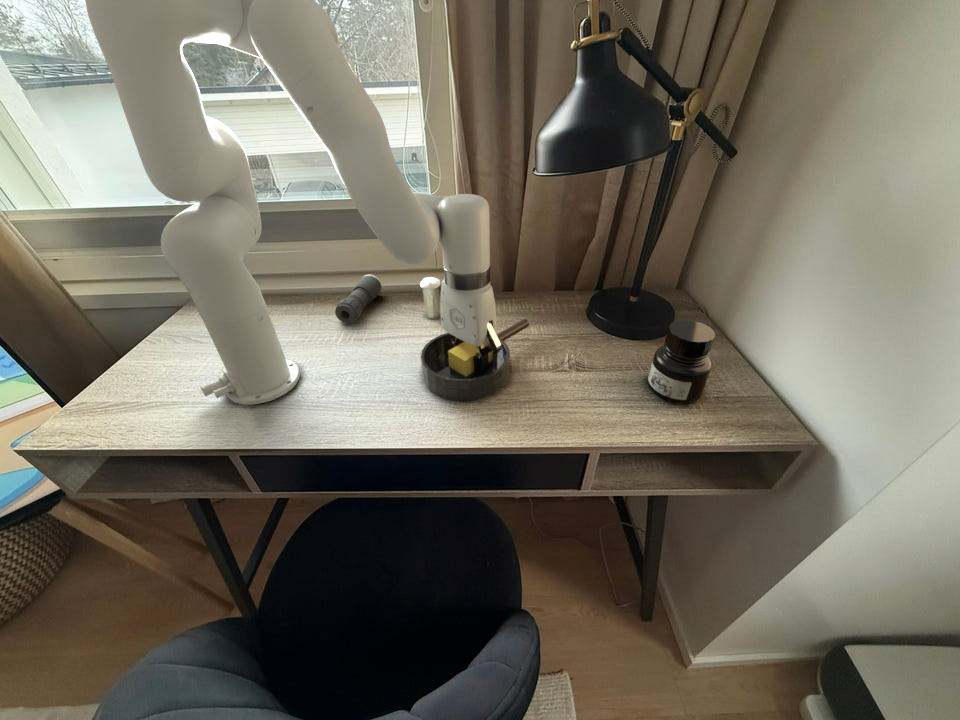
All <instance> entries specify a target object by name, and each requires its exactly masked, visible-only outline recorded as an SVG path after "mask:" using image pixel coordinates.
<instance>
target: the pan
mask: <svg viewBox="0 0 960 720" xmlns="http://www.w3.org/2000/svg"><path fill="white" fill-rule="evenodd" d="M498 339H499V341H500V343H501V345H502V347H501V348H499V349H498V350H496V351H493V352H492V354H493V364H491V365H490V366H488V368H487V369H486V370H484V371H483V372H481V373H479V374H478V375H477V374H475V375H474V376H472V377H471V378H469V379H463V378H462V377H460V376H459V375H457V374H455V373H454V372H452V371H450V369H449V358H448V351H449V350H451V349H452V348H454V347H453V345H454V344H453V343H452V342H451V336H450V334H449V333H448V332H445V333H442V334H440V335H437V336H435V337H434V338H432V339H431V340H430V341H428V342H427V343H425V345H424V347H423V348H422V350H421V353H420V357H419V359H420V366H421V373H422V379H423V382H424V385H425V386H426V387H427V389H428V390H429V391H430V392H432V393H433V394H434V395H436V396H439V397H440V398H442V399H446V400H450V401H456V402H473V401H478V400H482V399H485V398H488V397H490V396H493V395H494V394H496V393H498V392H499V391H500V390H502V389H503V388H504V387H505V385H506V384H507V382H508V381H509V378H510V367H511V366H510V365H511V364H510V363H511V354H510V352H511V351H510V348H509V346H508V344H507V343H506V342H505V341H503V340H502V339H500V338H499V337H498Z"/></svg>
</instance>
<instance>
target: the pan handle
mask: <svg viewBox="0 0 960 720" xmlns="http://www.w3.org/2000/svg"><path fill="white" fill-rule="evenodd" d="M529 326H530V321H529V320H528V319H526V318H523V319H521V320H519V321H518V322H516V323H514V324H513V325H511V326H509V327H508V328H506V329H504V330H502V331H500V332H499V333H496V335H497V337H499V338H500V339H502V340H503V341H504V342H505V341H506V340H508V339H510V338H511V337H513V336H515V335H516V334H518V333H520V332H522V331H524V330H525V329H528V327H529Z"/></svg>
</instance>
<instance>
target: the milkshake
mask: <svg viewBox="0 0 960 720" xmlns="http://www.w3.org/2000/svg"><path fill="white" fill-rule="evenodd" d="M443 279H444V276H442V277H441V280H440V279H439V278H437V277H435V276H427V277H424V278H423V279H422V280H421V281H420V283H419V286H420V291H421V294H422V295H421V296H422V299H423V304H424V309H425V314H426V318H428V319H433V320H435V319H437V318H438V319H439V318H441V309H440V298H441V286H442V281H443Z"/></svg>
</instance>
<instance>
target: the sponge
mask: <svg viewBox="0 0 960 720" xmlns="http://www.w3.org/2000/svg"><path fill="white" fill-rule="evenodd" d="M482 348H484V344H482V345H481V349H482ZM475 355H476V353H475V348H474V346H472V345H470V344H468V343H466V342H463V343H461V344H459V345H458V346H456V347H454V348H452V349H451V350H449V351H448V358H449V369H450V371H452V372H454V373H455V374H457V375H459V376H460V377H462V378H463V379H469V378H471V377H472V376H474V375H475V373H474V356H475ZM491 364H493V354H492V352H489V353H488V366H490V365H491Z"/></svg>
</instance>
